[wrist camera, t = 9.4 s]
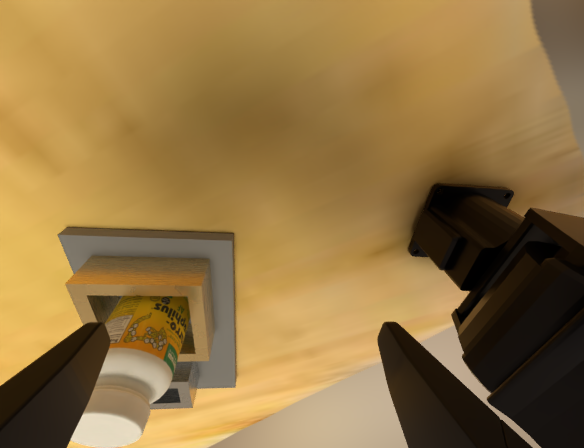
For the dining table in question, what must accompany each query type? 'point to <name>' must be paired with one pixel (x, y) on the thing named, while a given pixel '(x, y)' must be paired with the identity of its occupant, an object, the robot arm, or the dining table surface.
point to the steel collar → (180, 387)
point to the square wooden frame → (148, 292)
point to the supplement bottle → (134, 368)
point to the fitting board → (175, 245)
